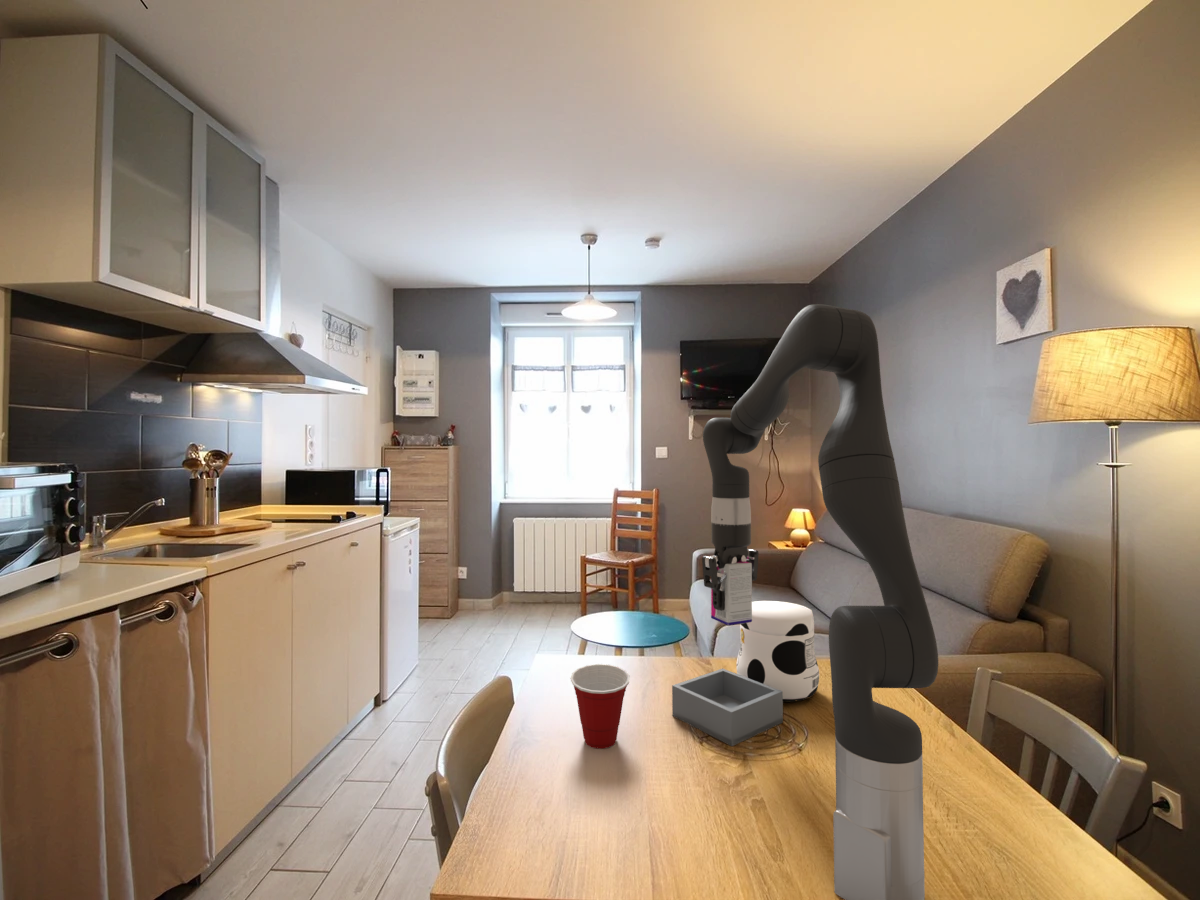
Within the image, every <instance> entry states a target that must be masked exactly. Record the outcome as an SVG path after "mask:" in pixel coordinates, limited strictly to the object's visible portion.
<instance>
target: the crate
mask: <svg viewBox="0 0 1200 900" xmlns="http://www.w3.org/2000/svg"><path fill="white" fill-rule="evenodd" d="M671 693H672V695H671V697H672V700H671V701H672V703H671V705H672V710H671V711H672V712H671V713H672V715H671V716H672V717H674V718H676V719H678V720H680V721H681V722H684V723H685V724H687V725H689V726H691V727H693V728H695V729H698V730H699V731H700V732H703V733H705V734H707V735H709V736H711V737H713V738H715V739H716V740H719V741H721V742H722V743H725V744H726V745H728V746H730V747H734V746H735V745H738V744H740V743H742V742H745V741H746V740H748V739H752V738H753V737H756V736H757V735H759V734H761V733H763V732H765V731H768V730H770V729H772V728H775V727H776V726H779V725H780V724H782V723H784V722H783V721H784V709H783V708H784V705H783V704H784V701H783V691H781V690H778V689H775V688H773V687H770V686H768V685H765V684H762V683H760V682H757V681H754V680H752V679H749V678H746V677H744V676H741V675H739V674H737V672H736V673H735V672H732V670H728V669H726V668H720V669H717V670H715V671H711V672H708V673H706V674H702V675H699V676H695V677H693V678H690V679H687V680H685V681H682V682H678V683H675V684H672V686H671Z"/></svg>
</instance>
